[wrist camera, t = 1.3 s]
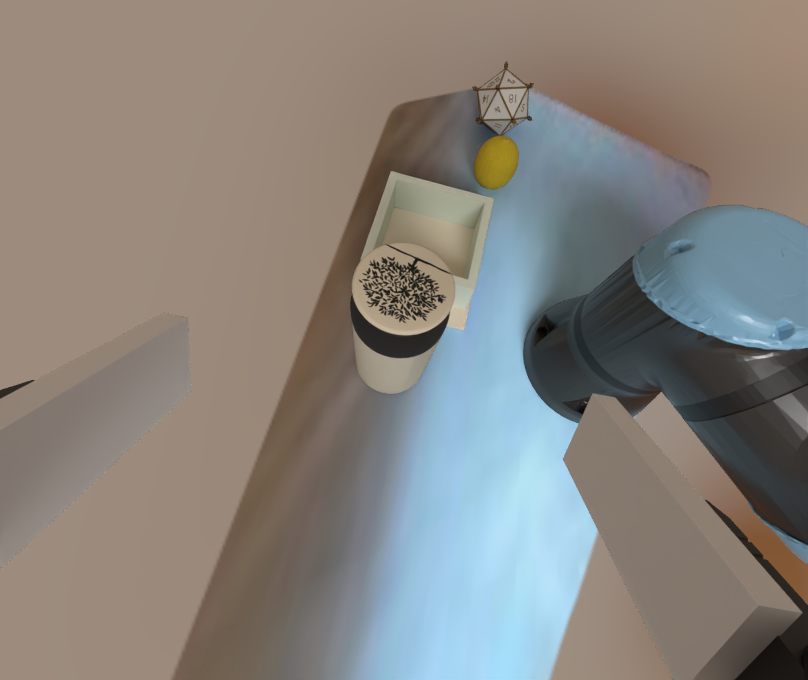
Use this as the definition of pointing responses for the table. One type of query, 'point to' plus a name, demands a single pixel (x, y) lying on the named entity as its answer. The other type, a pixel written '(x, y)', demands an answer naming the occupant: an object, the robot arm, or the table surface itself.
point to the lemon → (496, 162)
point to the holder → (436, 230)
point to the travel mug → (399, 313)
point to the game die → (503, 102)
